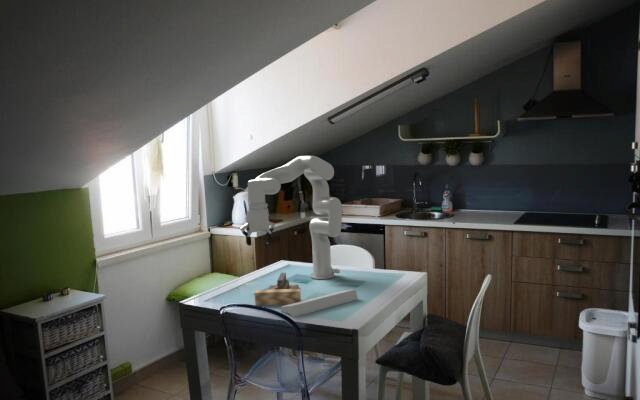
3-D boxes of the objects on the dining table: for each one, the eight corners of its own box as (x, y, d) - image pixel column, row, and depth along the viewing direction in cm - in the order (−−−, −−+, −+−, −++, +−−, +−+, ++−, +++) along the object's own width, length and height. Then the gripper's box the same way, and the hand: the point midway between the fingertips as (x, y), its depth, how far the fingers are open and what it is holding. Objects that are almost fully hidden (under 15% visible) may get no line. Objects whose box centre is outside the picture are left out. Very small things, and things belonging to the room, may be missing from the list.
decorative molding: (282, 318, 222) (294, 317, 214) (280, 306, 222) (292, 306, 214) (344, 300, 241) (357, 299, 233) (342, 290, 242) (355, 289, 234)
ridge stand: (298, 287, 257) (297, 271, 256) (295, 297, 241) (294, 280, 240) (270, 288, 257) (269, 272, 256) (265, 298, 241) (264, 281, 240)
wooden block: (300, 301, 235) (300, 288, 234) (300, 304, 230) (299, 291, 230) (257, 302, 236) (256, 289, 235) (255, 305, 231) (254, 292, 231)
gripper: (269, 204, 244) (271, 240, 246) (236, 207, 234) (237, 245, 236) (277, 205, 238) (279, 242, 239) (243, 209, 228) (245, 247, 230)
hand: (258, 243), depth 238 cm, fingers open, 9 cm apart
